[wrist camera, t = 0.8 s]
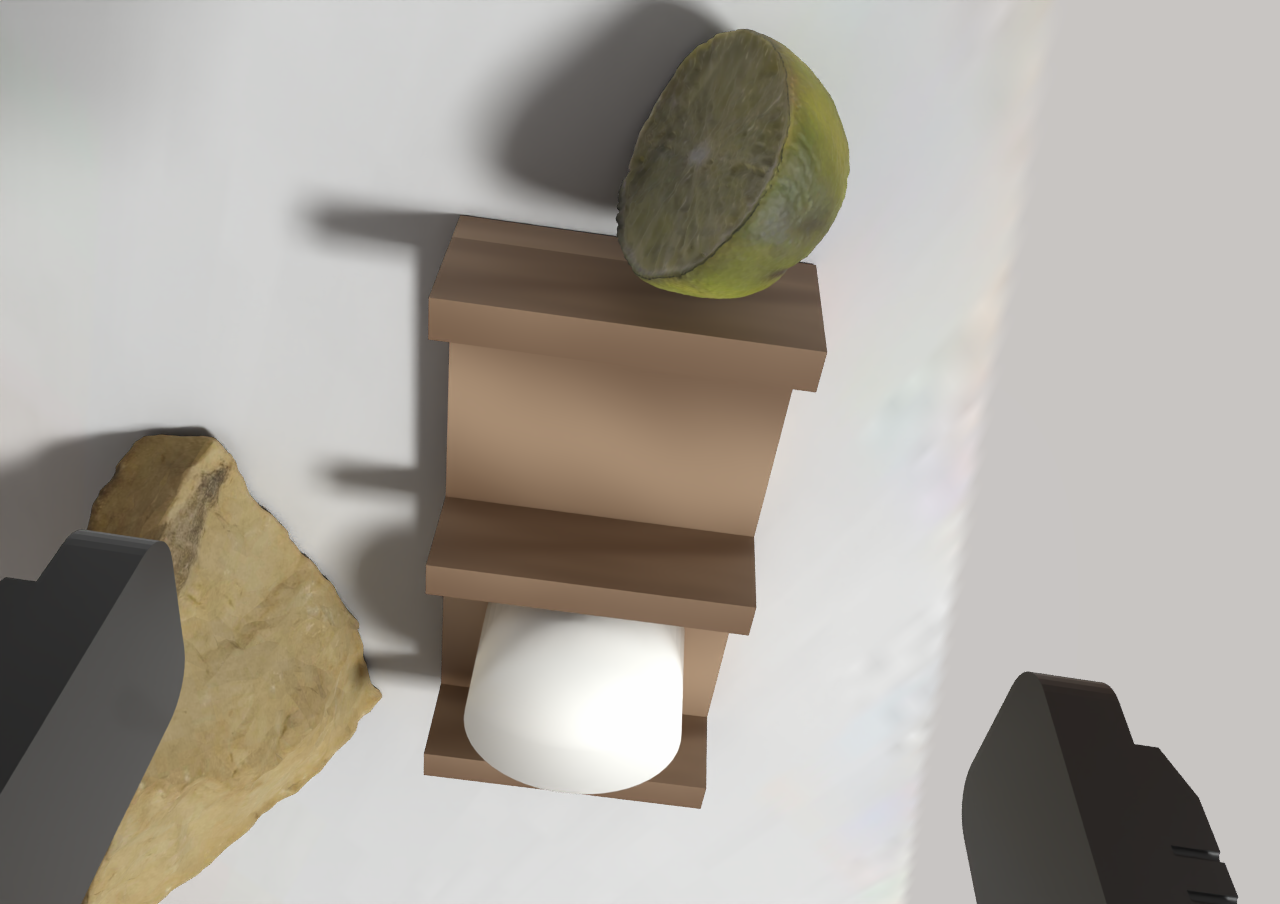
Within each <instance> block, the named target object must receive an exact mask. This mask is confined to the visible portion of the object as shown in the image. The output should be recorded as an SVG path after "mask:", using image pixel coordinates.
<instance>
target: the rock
mask: <svg viewBox="0 0 1280 904" xmlns="http://www.w3.org/2000/svg"><path fill="white" fill-rule="evenodd" d="M87 530H90V531H97V532H103V533H110V534H117V535H124V536H130V537H137V538H144V539H151V540H158V541H164V542H165V543H166V544H167V545H168V547H169V549H170V551H171V555H172V561H173V569H174V576H175V583H176V591H177V598H178V605H179V613H180V620H181V628H182V635H183V642H184V650H185V668H184V676H183V682H182V687H181V692H180V696H179V699H178V703H177V706H176V709H175V711H174V714H173V716H172V719H171V721H170V723H169V725H168V727H167V729H166V731H165V733H164V735H163V737H162V739H161V741H160V743H159V746H158V748H157V750H156V752H155V754H154V756H153V758H152V760H151V762H150V764H149V766H148V768H147V770H146V772H145V774H144V776H143V778H142V780H141V782H140V784H139V786H138V788H137V790H136V793H135V795H134V797H133V799H132V801H131V803H130V805H129V807H128V809H127V811H126V813H125V815H124V817H123V819H122V821H121V823H120V825H119V827H118V829H117V831H116V833H115V835H114V837H113V840H112V842H111V844H110V846H109V848H108V850H107V852H106V854H105V856H104V858H103V860H102V862H101V864H100V866H99V868H98V870H97V872H96V874H95V876H94V878H93V880H92V882H91V884H90V887H89V889H88V891H87V893H86V895H85V897H84V899H83V901H82V903H81V904H158V903H159V902H160V901H161V900H163V899H164V898H165V897H166V896H167V895H168V894H169V893H170V892H171V891H172V890H173V889H175V888H177V887H178V886H180V885H182V884H183V883H185V882H187V881H188V880H190V879H192V878H193V877H195V876H196V875H198V874H199V873H200V872H201V871H202V870H203V869H204V868H206V867H207V866H208V865H210V864H211V863H212V862H213V861H214V859H215V858H217V857H218V856H219V855H220V854H221V853H222V852H223V851H224V850H225V849H226V848H227V847H228V846H229V845H231V844H232V843H233V842H235V841H236V840H238V839H239V838H240V837H241V836H243V835H244V834H245V833H246V832H247V831H249V829H250V828H251V827H252V826H253V825H254V824H255V822H256V821H257V819H258V818H259V817H260V816H261V815H262V814H263V813H265V812H267V811H268V810H270V809H271V808H272V807H273V806H274V805H275V804H276V803H277V802H279V801H280V800H282V799H284V798H286V797H288V796H291V795H293V794H295V793H297V792H298V791H299V790H300V789H301V788H302V787H303V786H304V785H305V784H306V783H307V782H308V781H309V780H310V779H311V778H312V777H313V776H315V775H316V774H318V773H319V772H320V771H321V770H322V769H323V767H324V766H325V765H326V763H327V762H328V761H329V760H330V758H331V757H332V756H333V755H334V754H335V752H336V751H337V750H339V749H340V748H341V747H342V746H343V745H344V744H345V743H346V742H347V741H348V740H350V738H351V737H352V736H353V734H354V733H355V731H356V728H357V724H358V721H359V720H360V719H361V718H362V717H363V716H364V715H365V714H367V713H369V712H371V710H372V709H373V707H374V706H375V705H376V703H377V702H378V701H379V700H380V699H381V698H382V694H381V692H380V691H379V690H378V689H376V688H375V687H374V686H373V685H372V684H371V682H370V677H369V673H368V669H367V665H366V662H365V660H364V658H363V643H362V641H361V638H360V635H359V633H358V630H357V629H359V623H358V621H357V620H356V619H355V618H354V617H353V616H352V615H351V613H350V612H349V611H348V610H347V609H346V607H345V606H344V604H343V603H342V601H341V599H340V598H339V596H338V594H337V593H336V590H335V588H334V586H333V585H332V584H331V582H330V581H329V580H327V579H326V578H324V577H323V575H322V574H321V573H320V571H319V570H318V568H317V566H316V565H315V564H314V563H313V562H312V561H311V560H310V559H309V558H307V557H306V556H304V555H303V554H301V552H300V551H299V549H298V548H297V546H296V545H295V544H294V543H293V542H292V541H291V540H290V539H289V535H288V531H287V530H286V529H285V528H284V527H283V526H282V525H281V524H280V523H279V522H278V521H277V519H276V518H275V517H274V516H273V515H272V514H271V513H269V512H268V511H266V510H264V509H262V508H261V507H260V505H259V504H258V503H257V502H256V501H255V500H254V499H253V498H252V497H251V496H250V494H249V492H248V489H247V487H246V484H245V481H244V478H243V477H242V475H241V474H240V473H239V471H238V468H237V465H236V462H235V460H234V459H233V457H232V455H231V454H230V453H228V452H227V451H226V450H225V448H224V447H223V446H222V445H221V444H220V442H219V441H217V440H216V439H215V438H214V437H207V436H173V435H164V434H161V435H154V436H144V437H143V438H141V439H139V440H138V441H136V442H135V443H134V444H133V446H132V448H131V449H130V451H129V452H128V453H127V454H126V455H125V456H124V457H123V458H122V459H121V461H120V462H119V463H118V464H117V466H116V472H115V474H114V476H113V478H112V479H111V481H110V482H109V483H108V484H107V485H105V486H104V487H103V488H102V489H101V490H100V492H99V496H98V497H97V499H96V500H95V502H94V503H93V506H92V511H91V516H90V520H89V524H88V528H87Z"/></svg>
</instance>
